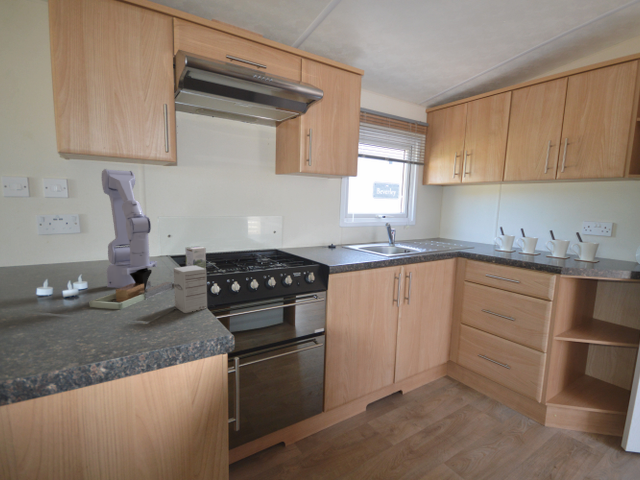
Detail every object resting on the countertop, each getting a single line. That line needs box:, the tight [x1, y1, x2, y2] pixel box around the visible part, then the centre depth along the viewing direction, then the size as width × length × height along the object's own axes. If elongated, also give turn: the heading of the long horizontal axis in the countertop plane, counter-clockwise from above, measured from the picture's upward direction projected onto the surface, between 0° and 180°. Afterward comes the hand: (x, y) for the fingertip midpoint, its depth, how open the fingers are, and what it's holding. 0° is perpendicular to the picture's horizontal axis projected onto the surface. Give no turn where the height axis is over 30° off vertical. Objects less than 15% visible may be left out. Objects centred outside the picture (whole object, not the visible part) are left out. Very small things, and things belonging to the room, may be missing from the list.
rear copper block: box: [126, 283, 144, 296], centre depth 108 cm, size 4×4×4 cm
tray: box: [88, 292, 146, 310], centre depth 101 cm, size 11×11×2 cm
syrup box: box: [185, 245, 207, 270], centre depth 130 cm, size 6×6×14 cm
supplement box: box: [173, 265, 208, 314], centre depth 98 cm, size 7×7×13 cm
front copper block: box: [115, 286, 137, 303], centre depth 104 cm, size 4×4×4 cm
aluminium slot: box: [114, 280, 174, 300], centre depth 113 cm, size 12×14×3 cm
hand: (141, 290), depth 111 cm, fingers closed
